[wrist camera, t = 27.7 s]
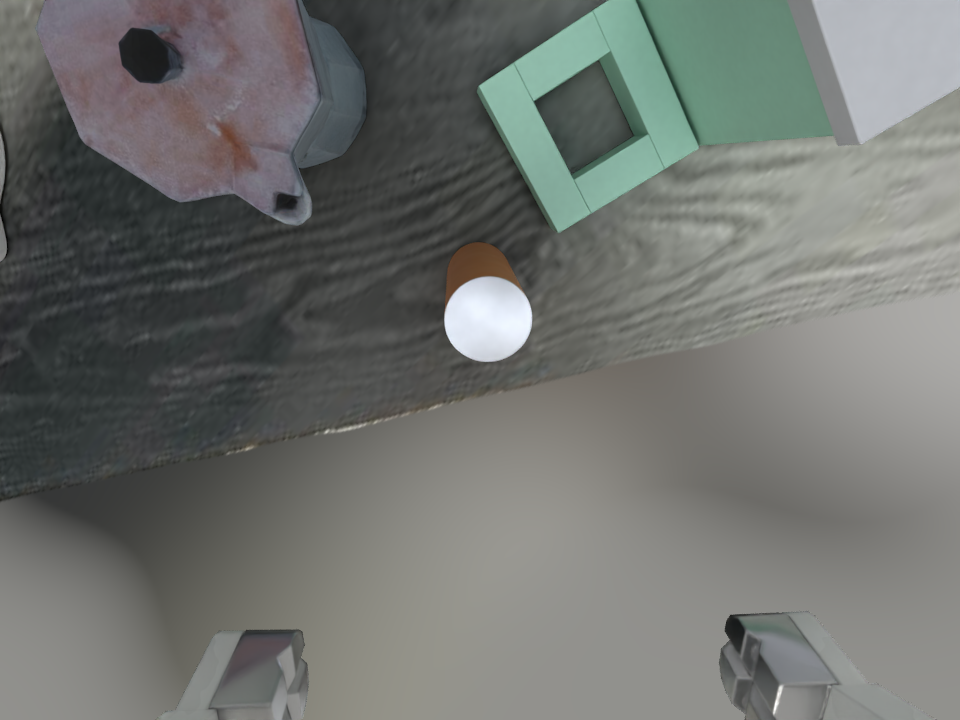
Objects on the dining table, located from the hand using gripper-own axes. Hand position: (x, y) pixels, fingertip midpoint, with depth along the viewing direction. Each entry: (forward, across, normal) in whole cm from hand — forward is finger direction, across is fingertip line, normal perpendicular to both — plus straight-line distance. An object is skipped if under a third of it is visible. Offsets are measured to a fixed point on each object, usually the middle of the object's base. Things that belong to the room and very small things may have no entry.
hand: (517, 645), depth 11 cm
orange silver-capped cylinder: (+31, 0, -1) cm, 31 cm away
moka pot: (+31, +11, -13) cm, 36 cm away
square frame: (+31, -7, -11) cm, 34 cm away
